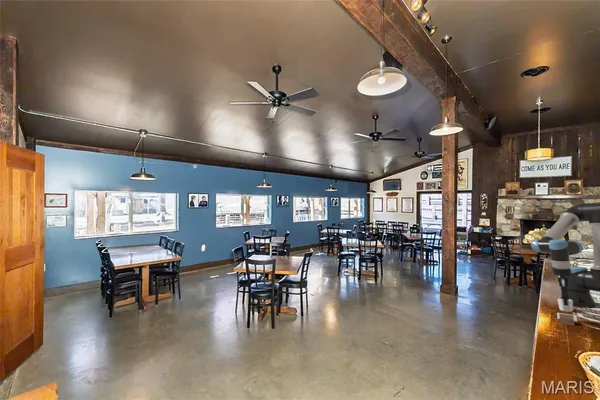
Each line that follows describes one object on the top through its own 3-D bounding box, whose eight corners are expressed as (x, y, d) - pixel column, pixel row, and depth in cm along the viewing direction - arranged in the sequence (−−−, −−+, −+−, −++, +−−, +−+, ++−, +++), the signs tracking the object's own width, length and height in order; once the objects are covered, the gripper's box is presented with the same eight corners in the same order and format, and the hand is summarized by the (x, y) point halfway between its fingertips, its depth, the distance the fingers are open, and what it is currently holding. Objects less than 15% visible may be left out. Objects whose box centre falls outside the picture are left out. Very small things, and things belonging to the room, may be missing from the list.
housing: (560, 321, 153) (559, 313, 153) (574, 323, 149) (573, 315, 149) (560, 324, 149) (559, 316, 149) (574, 327, 145) (573, 318, 145)
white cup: (577, 313, 162) (576, 301, 162) (563, 313, 163) (562, 301, 164) (568, 309, 169) (567, 297, 169) (555, 309, 170) (554, 297, 170)
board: (557, 314, 163) (557, 312, 163) (576, 316, 157) (576, 315, 157) (557, 319, 155) (557, 318, 155) (577, 323, 149) (577, 321, 149)
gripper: (552, 265, 161) (557, 305, 160) (552, 269, 151) (557, 313, 150) (570, 265, 156) (575, 308, 155) (571, 270, 146) (577, 315, 145)
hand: (566, 310), depth 152 cm, fingers closed
